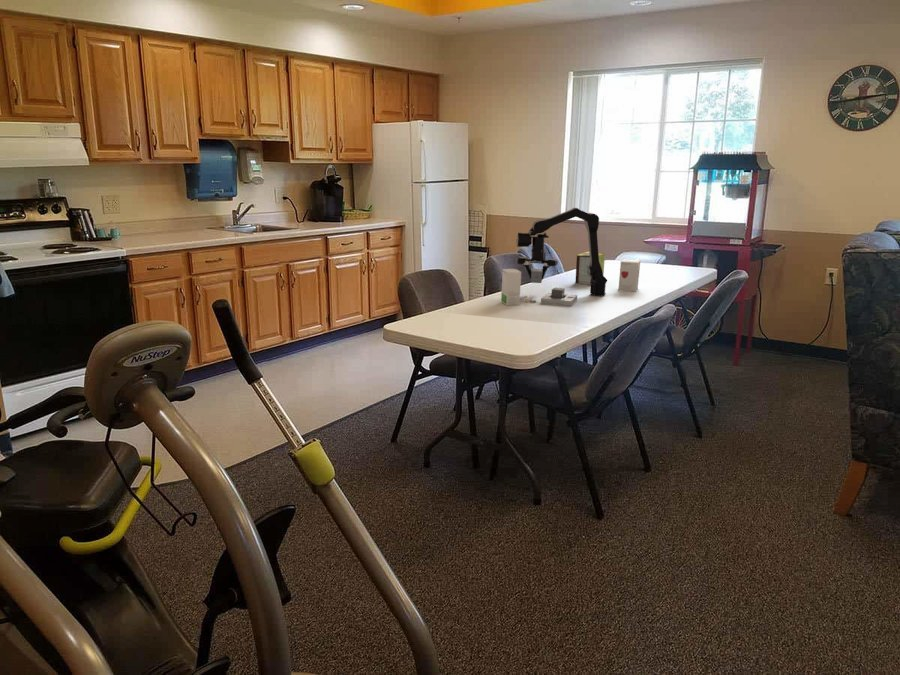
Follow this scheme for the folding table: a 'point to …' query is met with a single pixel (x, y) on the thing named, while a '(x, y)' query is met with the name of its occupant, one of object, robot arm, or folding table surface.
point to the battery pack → (536, 275)
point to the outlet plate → (559, 300)
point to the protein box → (581, 268)
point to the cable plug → (528, 299)
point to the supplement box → (629, 275)
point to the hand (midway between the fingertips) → (536, 279)
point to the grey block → (558, 292)
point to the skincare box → (511, 287)
